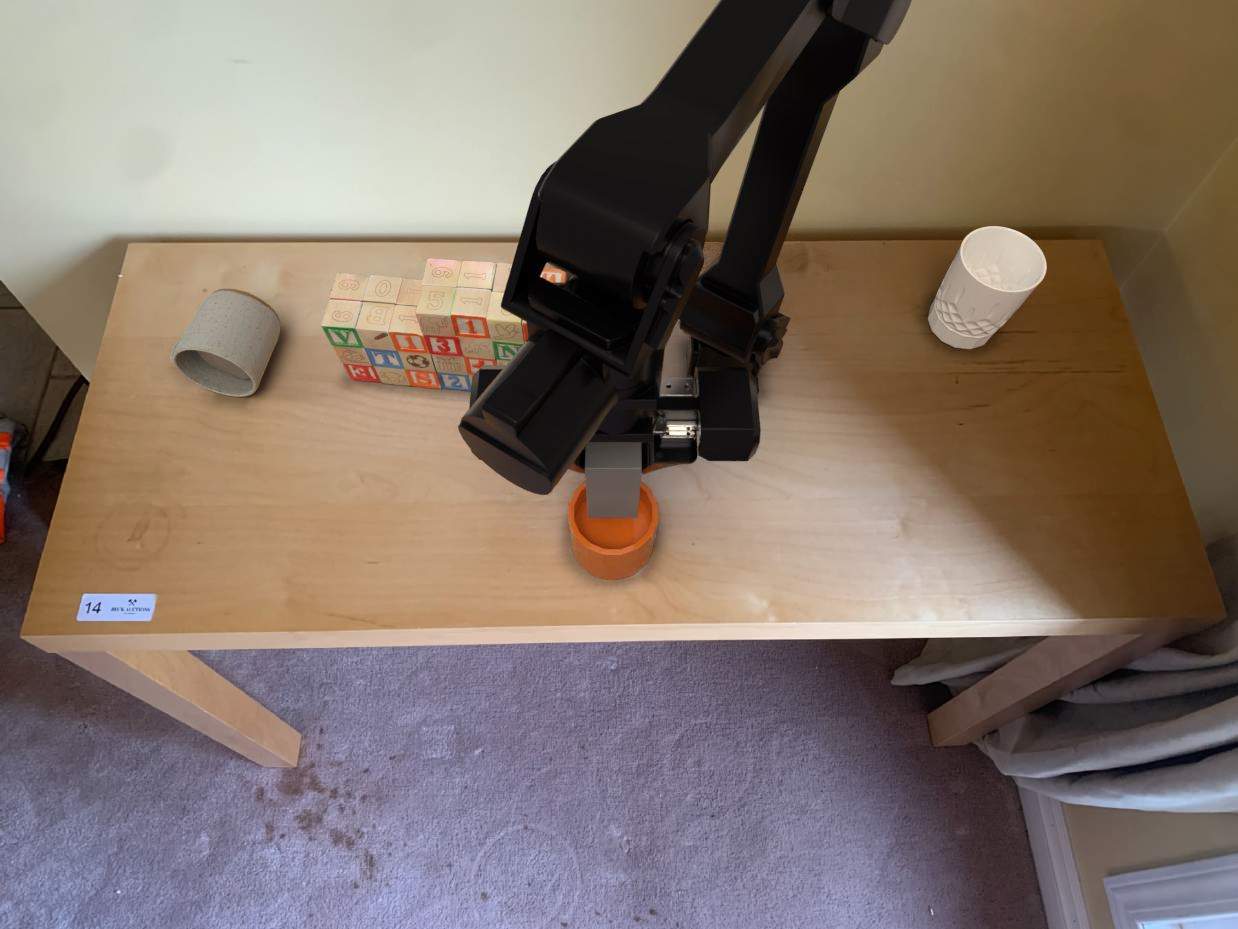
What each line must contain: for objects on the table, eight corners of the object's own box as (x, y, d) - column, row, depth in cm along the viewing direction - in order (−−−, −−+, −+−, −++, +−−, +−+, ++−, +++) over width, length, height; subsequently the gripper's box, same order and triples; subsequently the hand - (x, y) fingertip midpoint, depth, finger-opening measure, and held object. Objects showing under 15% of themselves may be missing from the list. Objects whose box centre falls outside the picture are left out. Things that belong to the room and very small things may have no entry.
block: (637, 473, 64) (641, 419, 56) (637, 518, 63) (641, 469, 55) (588, 472, 64) (585, 418, 56) (587, 518, 63) (584, 468, 54)
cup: (653, 502, 72) (657, 472, 66) (654, 580, 68) (659, 555, 63) (572, 502, 72) (569, 471, 66) (570, 579, 68) (566, 554, 62)
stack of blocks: (349, 382, 77) (306, 303, 66) (364, 330, 80) (326, 247, 69) (565, 401, 76) (558, 325, 65) (572, 348, 79) (567, 267, 68)
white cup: (1008, 314, 82) (1058, 248, 73) (982, 367, 79) (1030, 305, 70) (938, 281, 84) (978, 213, 75) (909, 332, 81) (947, 267, 72)
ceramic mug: (296, 333, 79) (265, 284, 73) (269, 401, 76) (234, 356, 69) (196, 322, 80) (156, 272, 73) (165, 389, 76) (120, 343, 70)
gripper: (764, 242, 49) (729, 378, 63) (465, 240, 48) (497, 376, 62) (781, 395, 44) (739, 505, 58) (447, 393, 44) (486, 504, 58)
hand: (613, 467), depth 59 cm, fingers closed on block, 4 cm apart
